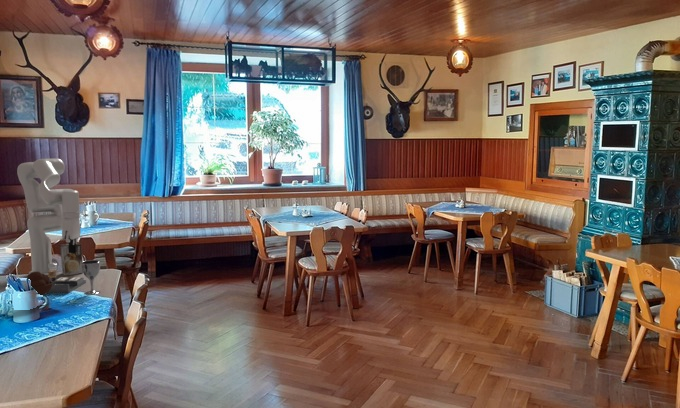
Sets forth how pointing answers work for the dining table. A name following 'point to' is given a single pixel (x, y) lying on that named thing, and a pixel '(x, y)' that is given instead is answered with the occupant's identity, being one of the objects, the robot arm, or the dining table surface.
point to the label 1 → (61, 279)
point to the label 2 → (74, 279)
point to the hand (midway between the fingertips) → (72, 252)
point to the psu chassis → (65, 285)
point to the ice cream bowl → (40, 282)
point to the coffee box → (71, 260)
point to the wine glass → (91, 273)
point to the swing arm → (52, 269)
